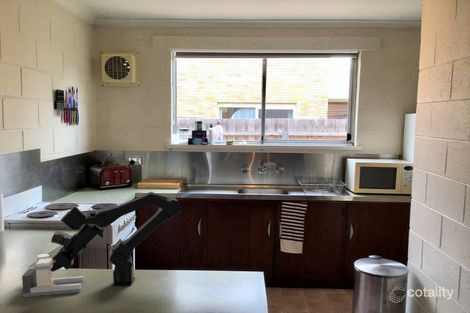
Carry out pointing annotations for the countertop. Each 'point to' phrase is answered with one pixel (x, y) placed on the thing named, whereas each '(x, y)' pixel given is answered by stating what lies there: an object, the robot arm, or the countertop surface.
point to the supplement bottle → (42, 257)
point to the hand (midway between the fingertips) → (51, 270)
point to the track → (56, 288)
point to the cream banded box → (44, 272)
